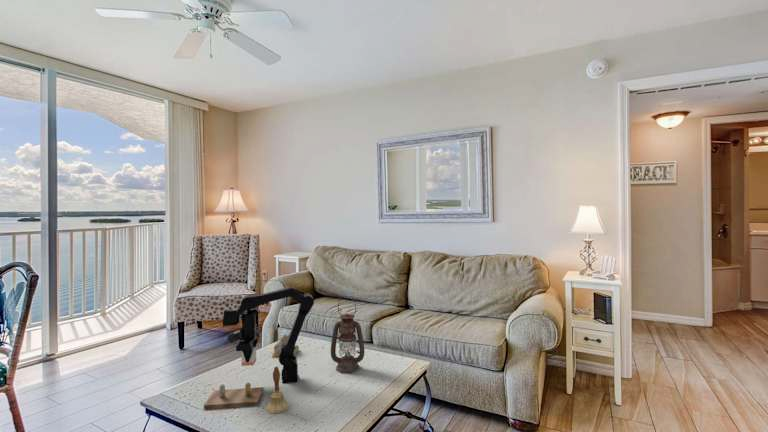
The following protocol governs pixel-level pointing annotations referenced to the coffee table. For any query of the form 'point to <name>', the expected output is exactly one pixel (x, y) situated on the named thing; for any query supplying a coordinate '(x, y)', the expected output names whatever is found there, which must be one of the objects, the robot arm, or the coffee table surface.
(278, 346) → the ceramic model
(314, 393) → the coffee table surface
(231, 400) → the pin board
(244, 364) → the sleeve
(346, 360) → the lantern
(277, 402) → the hand bell
